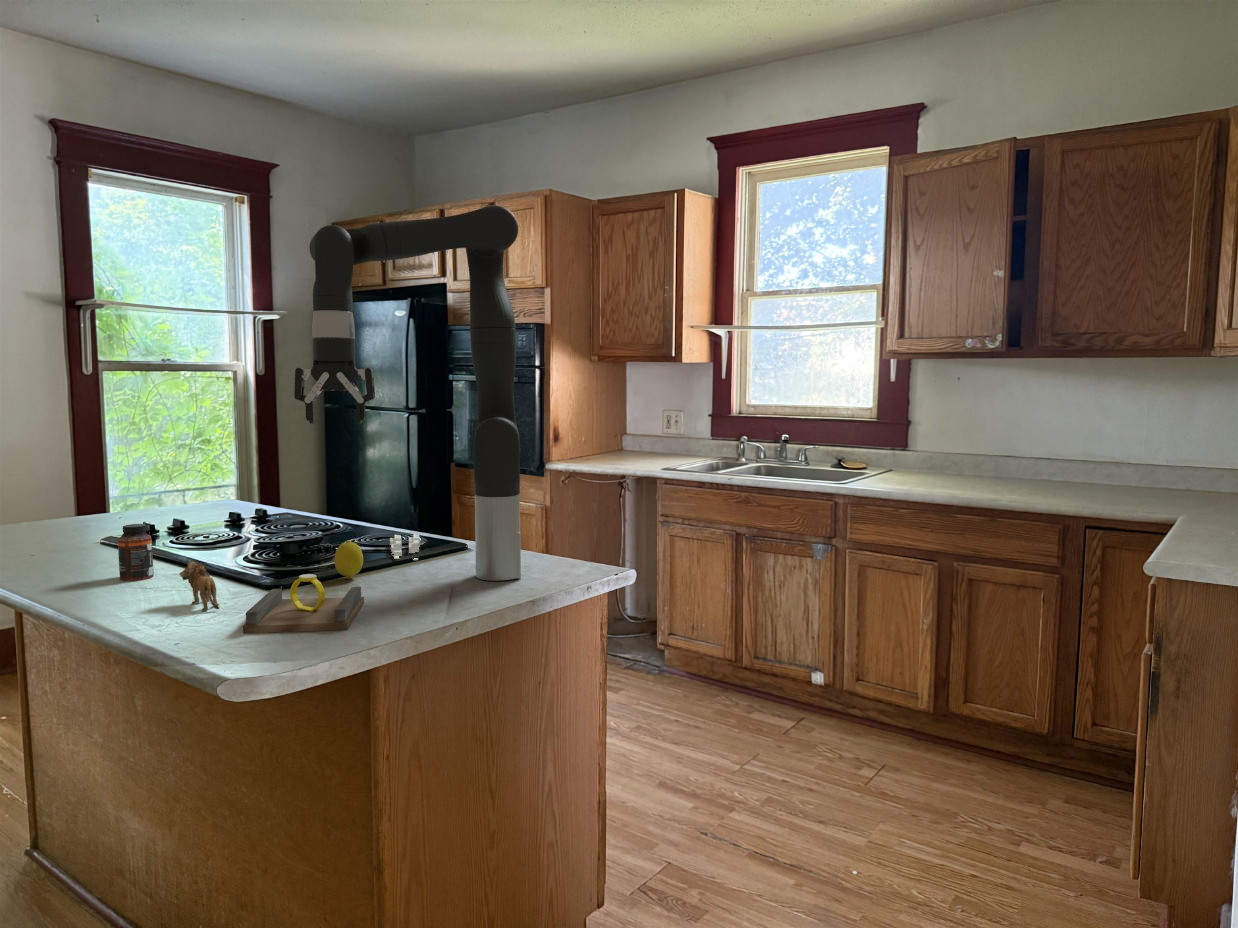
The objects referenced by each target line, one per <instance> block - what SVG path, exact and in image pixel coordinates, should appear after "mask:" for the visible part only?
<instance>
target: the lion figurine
mask: <svg viewBox="0 0 1238 928" xmlns="http://www.w3.org/2000/svg"><path fill="white" fill-rule="evenodd" d="M179 576H180V577H181V578H182V581H186V580H187V581H188V584H189V585H190V588H192V595H193V599H194V601H192V602H191V605H198V604H199V603H200V600H201V603H202V605H203V607H202V609H201V611H202V612H207V611H209V606H208V602H210V604H211V605H212V607H213V608H214V609H216V610H220V607H219V605H220V604H219V603H218V601H217V587H216V586H217V585H216V583H215V580H214V578H212V577H210V573H209V572H208V571H207V569H206V568H205V567H204V566H203V565H202V564H201V563H199V562H197V561H191V562H187V566H186V567H185V568H184V569H183V570H182V571H181V572H179ZM199 595H200V597H199Z"/></svg>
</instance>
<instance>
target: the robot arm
mask: <svg viewBox="0 0 1238 928" xmlns="http://www.w3.org/2000/svg"><path fill="white" fill-rule="evenodd" d="M518 235H519V224H518V220H517V218H516V216H515V215H514V214H513V212H512V211H511V210H509V209H508V208H506V207H505V206H503V205H502V206H501V205H497V204H490V205H486V206H483V207H481V208H478V209H475V210H471V211H467V212H464V213H459V214H453V215H447V216H442V217H433V218H423V219H422V218H421V219H409V220H408V219H407V220H393V221H386V222H385V221H384V222H374V223H369V224H366V225H363V226H361V227H357V228H347V229H345V228H343V227H342V226H339V225H337V224H329V225H325V226H323V227H320V228H319V229H318V230H317V232H315V234H314V235H313V237H312V238H311V240H310V243H309V245H308V247H309V249H308V250H309V254H310V256H311V258H312V260H313V261H314V266H315V267H314V270H315V271H314V272H315V276H314V277H315V280H314V283H313V286H312V287H313V288H312V311H313V312H312V314H313V315H312V321H311V324H312V325H311V336H312V367H311V368H303V367H296V368H295V371H294V393H293V394H294V396H293V397H294V399H295V400H297V401H300V402H303V403H304V405H305V419H306V421H308V422H309V424H310V425H314V424H316V423H317V422H316V420H317V419H316V403H315V401H316V399H317V398H318V397H319V395H320V394H321V393H322V392H323V391H325V392H333V391H337V392H345V391H348V393H349V394H351V396H352V397H353V398H354V399H355V400H356V402H357V403H356V404H355V405H356V409H355V410H356V411H355V412H356V424H363V421H365V420H366V416H367V415H366V404H367V402H369V401H370V402H371V401H372V400H375V399H376V388H375V377H374V375H375V374H374V370H373V368H370V367H366V368H361V369H358V368H357V365H356V336H355V335H356V333H355V331H356V330H355V320H354V312H353V311H354V310H353V309H354V308H353V307H354V305H353V304H354V303H353V302H354V301H353V290H352V282H353V275H354V266H355V265H360V264H364V263H370V262H387V261H394V260H402V259H411V258H414V257H420V256H424V255H429V254H434V253H438V252H443V251H447V250H458V249H465V253H466V259H467V268H468V274H469V316H470V317H469V319H470V320H469V329H470V330H469V334H470V335H469V336H470V337H469V338H470V351H471V352H470V353H471V360H472V366H473V372H474V377H475V382H476V387H477V399H478V402H477V403H478V404H477V405H478V406H477V423H476V429H475V432H474V435H473V479H474V480H473V482H474V510H475V511H474V518H475V519H474V522H475V524H474V525H475V528H474V529H475V530H474V531H475V577H476V578H477V579H478V580H485V581H492V582H493V581H496V582H497V581H509V580H516V579H521V578H522V573H521V572H522V570H521V569H522V566H521V565H522V564H521V563H522V562H521V561H522V560H521V559H522V558H521V557H522V556H521V555H522V553H521V551H522V549H521V545H522V544H521V536H522V535H521V505H520V504H521V494H520V493H521V492H520V491H521V477H520V476H521V475H520V474H521V469H520V468H521V467H520V466H521V465H520V463H521V458H520V456H521V455H520V453H521V450H520V449H521V448H520V447H521V446H520V445H521V444H520V443H521V442H520V441H521V439H520V432H519V429H518V424H517V416H516V409H515V401H514V385H515V374H516V363H517V362H516V361H517V359H516V358H517V337H516V336H517V331H516V328H517V327H516V319H515V315H514V310H513V308H512V303H511V301H510V297H509V295H508V291H507V288H506V284H505V274H504V273H505V271H504V270H505V268H504V267H505V265H504V264H505V263H504V260H505V251H506V250H508V249H509V248H510V247H511V246H512V245H513V244H514V243H515V242H516V240H517V238H518ZM310 375H311V376H312V378H313V379H314V381H315V384H314V385H313V386H312V387H311V389H310V391H309V392H308V393H307V394H305V383H306V382H305V381H306V380H308V379H309V377H310ZM358 376H361V379H362V380H363V381H365V392H366V394H364V395H363V394H362V393H361V391H360V390H359V388H358V386H357V385H355V383H354V381H355V380H356V379H357V378H358Z"/></svg>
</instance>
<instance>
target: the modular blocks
mask: <svg viewBox="0 0 1238 928" xmlns="http://www.w3.org/2000/svg"><path fill="white" fill-rule="evenodd" d="M390 545H391V548H390V552H392V553H391V555H392V554H394V555H393V560H394V559H400V558H399V556H402V557H403V552H402V551H403V550H402V549H403V547H402V545H403V543H402V536H401V534H400V535H399V534H394V537H390V538H389V546H390ZM420 545H421V543H420V534H416V533H413V536H412V537H408V554H409V553H415V552H419V553H420V549H419V547H420V548H421V546H420ZM412 560H413V561H419V557H418V558H414V559H413V558H412Z"/></svg>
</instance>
